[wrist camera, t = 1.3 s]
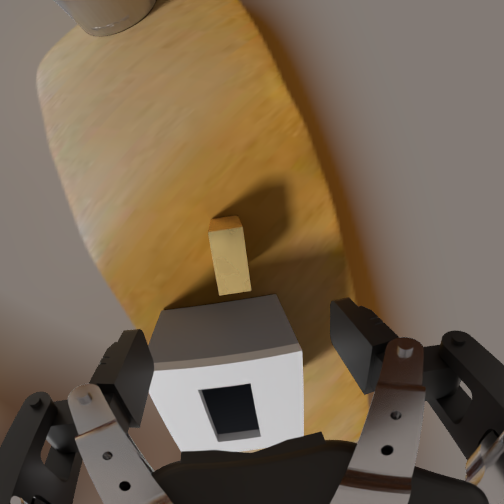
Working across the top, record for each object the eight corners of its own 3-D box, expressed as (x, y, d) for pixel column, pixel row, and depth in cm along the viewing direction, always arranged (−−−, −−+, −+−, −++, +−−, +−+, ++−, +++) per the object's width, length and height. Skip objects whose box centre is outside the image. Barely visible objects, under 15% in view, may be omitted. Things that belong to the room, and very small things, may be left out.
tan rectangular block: (210, 219, 25) (208, 232, 20) (237, 215, 25) (242, 227, 20) (219, 269, 27) (219, 295, 21) (244, 265, 27) (251, 290, 21)
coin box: (161, 310, 27) (139, 371, 18) (276, 294, 28) (302, 350, 18) (188, 392, 31) (183, 455, 21) (283, 378, 31) (303, 440, 22)
